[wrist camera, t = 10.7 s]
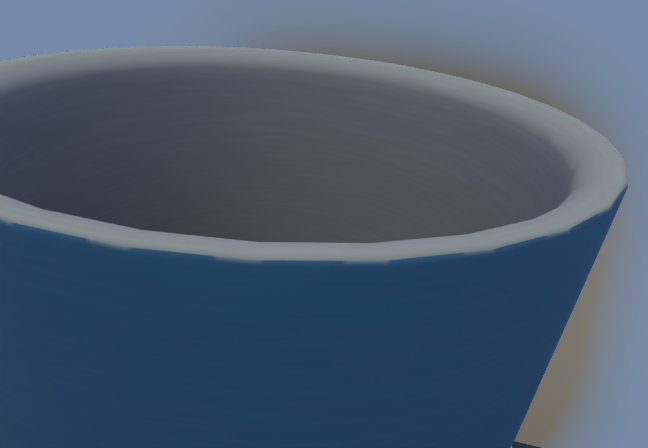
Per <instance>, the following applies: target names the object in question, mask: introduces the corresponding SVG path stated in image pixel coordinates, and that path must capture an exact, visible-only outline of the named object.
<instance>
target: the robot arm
mask: <svg viewBox="0 0 648 448" xmlns="http://www.w3.org/2000/svg"><path fill="white" fill-rule="evenodd" d="M511 448H540V447H536V446H531V445H527V444H523V443H519V442H513V444H512V446H511Z"/></svg>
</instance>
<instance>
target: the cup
mask: <svg viewBox="0 0 648 448" xmlns="http://www.w3.org/2000/svg"><path fill="white" fill-rule="evenodd" d="M627 187H628V183H627V176H626V168H625V161H624V159H623V157H622V156H621V155H620V154H619V153H618V151H617V150H616V149H615V148H614V147H613V145H612V144H611V143H610V142H609V141H608V139H606V138H605V137H603V136H602V135H601V134H599V133H598V132H596V131H595V130H593V129H592V128H590V127H589V126H588V125H586V124H585V123H583V122H582V121H580V120H578V119H576V118H574V117H572V116H570V115H568V114H565V113H564V112H562V111H560V110H557V109H555V108H553V107H551V106H549V105H546V104H543V103H541V102H538V101H535V100H533V99H530V98H527V97H525V96H522V95H519V94H517V93H514V92H510V91H507V90H504V89H500V88H497V87H494V86H490V85H487V84H483V83H480V82H476V81H472V80H468V79H463V78H459V77H455V76H451V75H447V74H443V73H438V72H433V71H428V70H423V69H418V68H413V67H408V66H403V65H396V64H390V63H385V62H378V61H372V60H366V59H358V58H350V57H343V56H335V55H327V54H317V53H307V52H296V51H287V50H272V49H257V48H240V47H213V46H211V47H210V46H146V47H116V48H102V49H87V50H74V51H65V52H56V53H47V54H39V55H31V56H26V57H20V58H14V59H8V60H3V61H0V448H511V446H512V444H513V442H514V440H515V437H516V435H517V433H518V430H519V429H520V426H521V424H522V422H523V420H524V417H525V415H526V413H527V411H528V408H529V406H530V404H531V402H532V400H533V397H534V395H535V393H536V390H537V388H538V386H539V384H540V382H541V379H542V377H543V375H544V373H545V371H546V368H547V366H548V364H549V362H550V359H551V357H552V355H553V353H554V350H555V348H556V346H557V343H558V342H559V339H560V337H561V335H562V333H563V330H564V328H565V326H566V324H567V321H568V319H569V317H570V315H571V312H572V310H573V308H574V306H575V304H576V301H577V299H578V297H579V295H580V293H581V290H582V288H583V286H584V283H585V281H586V279H587V277H588V275H589V272H590V270H591V268H592V266H593V264H594V261H595V259H596V257H597V255H598V252H599V250H600V248H601V246H602V243H603V241H604V239H605V237H606V235H607V232H608V230H609V228H610V226H611V223H612V221H613V219H614V217H615V215H616V212H617V210H618V208H619V206H620V203H621V201H622V199H623V197H624V194H625V192H626V190H627Z"/></svg>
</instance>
